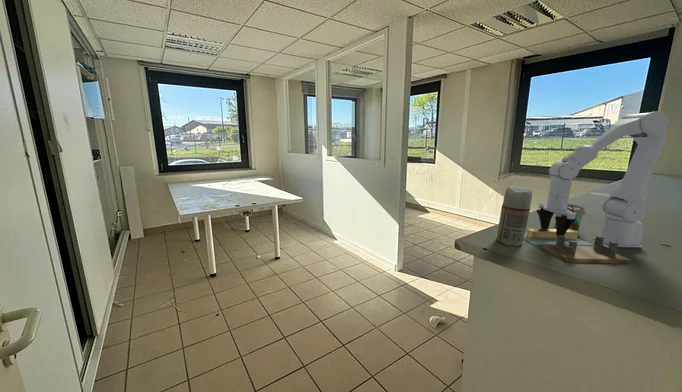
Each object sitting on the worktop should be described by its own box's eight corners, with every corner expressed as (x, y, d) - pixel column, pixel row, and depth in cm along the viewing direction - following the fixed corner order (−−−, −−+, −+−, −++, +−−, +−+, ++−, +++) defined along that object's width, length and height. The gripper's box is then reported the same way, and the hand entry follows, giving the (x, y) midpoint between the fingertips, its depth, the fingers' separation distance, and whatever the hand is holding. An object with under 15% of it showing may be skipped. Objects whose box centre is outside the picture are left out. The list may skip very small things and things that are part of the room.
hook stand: (598, 249, 89) (601, 233, 87) (629, 263, 79) (633, 245, 78) (543, 248, 89) (545, 232, 88) (567, 262, 79) (570, 244, 78)
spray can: (526, 242, 94) (535, 186, 90) (521, 249, 88) (531, 189, 84) (499, 236, 100) (506, 183, 96) (493, 242, 94) (500, 186, 90)
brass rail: (569, 237, 99) (571, 229, 98) (576, 240, 96) (578, 232, 95) (525, 236, 99) (527, 228, 99) (531, 239, 96) (532, 231, 96)
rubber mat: (565, 233, 103) (565, 232, 103) (593, 246, 92) (593, 245, 91) (512, 233, 104) (513, 232, 104) (533, 245, 92) (534, 243, 92)
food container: (589, 236, 101) (595, 211, 98) (570, 235, 102) (576, 210, 100) (569, 226, 112) (573, 203, 110) (552, 225, 114) (557, 202, 111)
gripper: (533, 191, 101) (527, 225, 104) (563, 200, 87) (555, 239, 90) (551, 191, 101) (546, 226, 104) (585, 200, 87) (577, 239, 90)
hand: (551, 232), depth 97 cm, fingers open, 7 cm apart
